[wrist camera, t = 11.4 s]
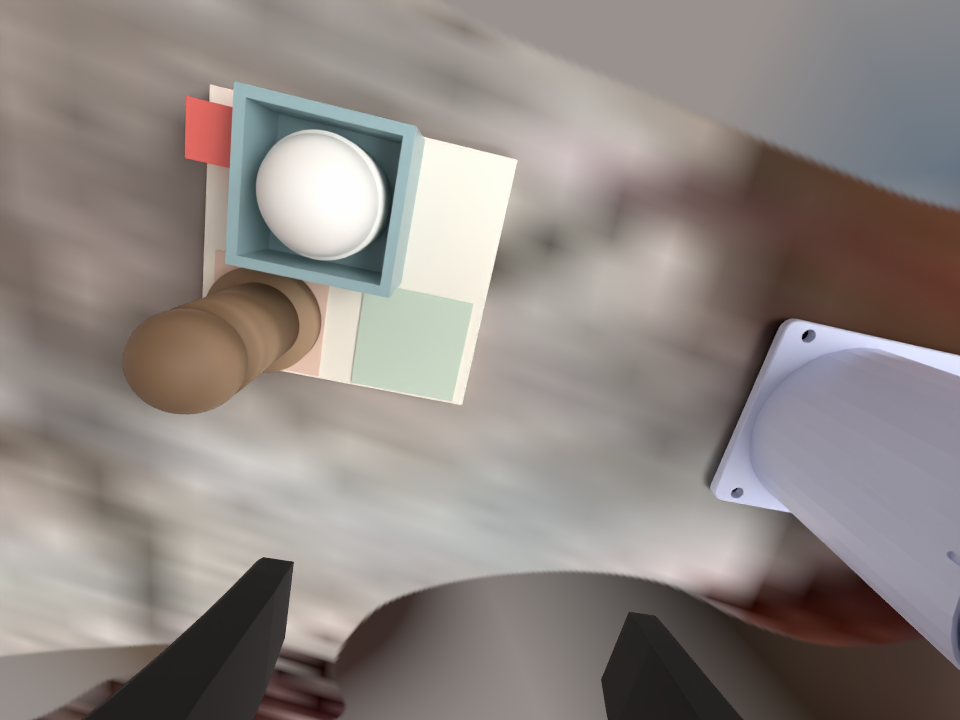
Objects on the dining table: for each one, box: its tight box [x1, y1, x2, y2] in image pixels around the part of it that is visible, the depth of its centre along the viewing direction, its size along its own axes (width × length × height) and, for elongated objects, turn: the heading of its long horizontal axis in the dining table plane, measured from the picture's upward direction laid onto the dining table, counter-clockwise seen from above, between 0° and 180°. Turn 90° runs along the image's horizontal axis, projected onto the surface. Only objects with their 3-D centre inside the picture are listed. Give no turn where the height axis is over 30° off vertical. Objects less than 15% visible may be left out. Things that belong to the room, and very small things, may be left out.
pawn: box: [123, 268, 321, 414], centre depth 13 cm, size 4×4×6 cm
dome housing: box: [225, 81, 425, 298], centre depth 14 cm, size 5×5×3 cm
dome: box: [256, 130, 391, 260], centre depth 13 cm, size 3×3×3 cm
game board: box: [185, 84, 517, 405], centre depth 15 cm, size 10×9×2 cm
